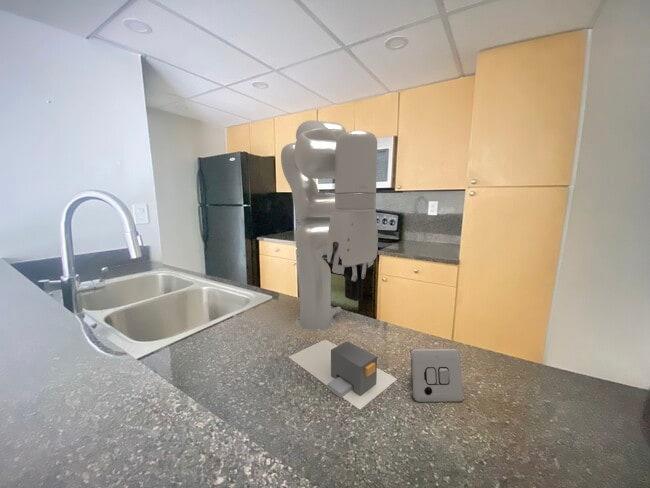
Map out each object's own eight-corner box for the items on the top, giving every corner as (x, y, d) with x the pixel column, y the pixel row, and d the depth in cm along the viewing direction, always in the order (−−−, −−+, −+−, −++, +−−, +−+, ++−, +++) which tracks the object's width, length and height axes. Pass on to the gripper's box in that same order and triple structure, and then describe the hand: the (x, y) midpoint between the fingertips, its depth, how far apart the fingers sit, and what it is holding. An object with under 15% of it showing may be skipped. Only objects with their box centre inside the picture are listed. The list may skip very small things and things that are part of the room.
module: (346, 366, 58) (347, 341, 57) (378, 385, 52) (379, 357, 51) (330, 376, 55) (330, 349, 54) (362, 398, 49) (363, 368, 48)
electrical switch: (414, 403, 49) (415, 355, 49) (405, 386, 54) (406, 343, 54) (463, 403, 49) (465, 355, 49) (450, 386, 54) (451, 343, 54)
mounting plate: (325, 343, 70) (325, 335, 70) (397, 384, 54) (397, 374, 54) (286, 362, 62) (286, 353, 62) (357, 417, 46) (357, 405, 46)
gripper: (364, 203, 56) (363, 285, 59) (311, 204, 46) (312, 302, 49) (395, 203, 51) (391, 294, 54) (341, 204, 41) (340, 315, 44)
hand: (353, 298), depth 51 cm, fingers closed
